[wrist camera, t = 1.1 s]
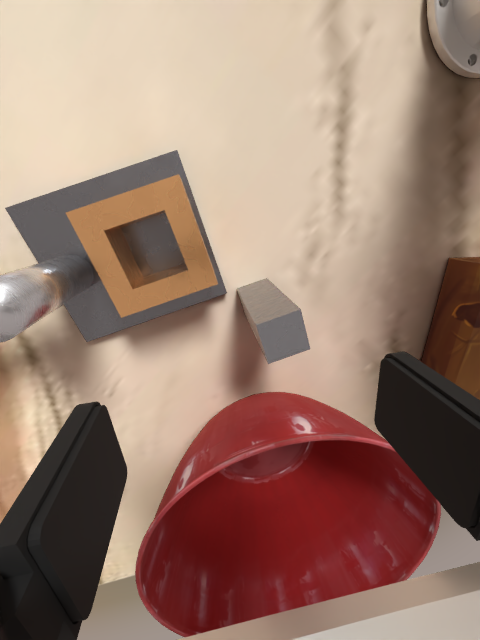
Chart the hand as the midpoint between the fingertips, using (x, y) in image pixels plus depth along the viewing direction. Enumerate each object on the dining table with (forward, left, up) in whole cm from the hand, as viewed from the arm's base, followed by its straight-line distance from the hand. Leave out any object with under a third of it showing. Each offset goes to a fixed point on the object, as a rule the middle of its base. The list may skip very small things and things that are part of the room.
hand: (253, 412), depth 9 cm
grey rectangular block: (-4, +4, -22) cm, 23 cm away
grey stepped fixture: (+12, -5, -22) cm, 26 cm away
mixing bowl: (+1, +24, -23) cm, 33 cm away
